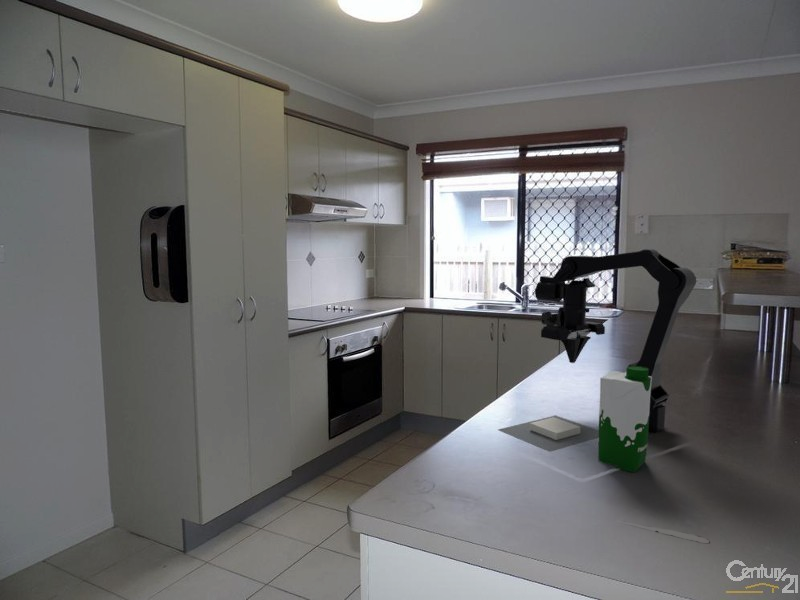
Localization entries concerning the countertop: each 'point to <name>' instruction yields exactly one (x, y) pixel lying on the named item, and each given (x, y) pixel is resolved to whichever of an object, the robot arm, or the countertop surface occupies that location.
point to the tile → (555, 428)
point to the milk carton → (624, 417)
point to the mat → (545, 442)
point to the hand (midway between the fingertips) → (572, 362)
